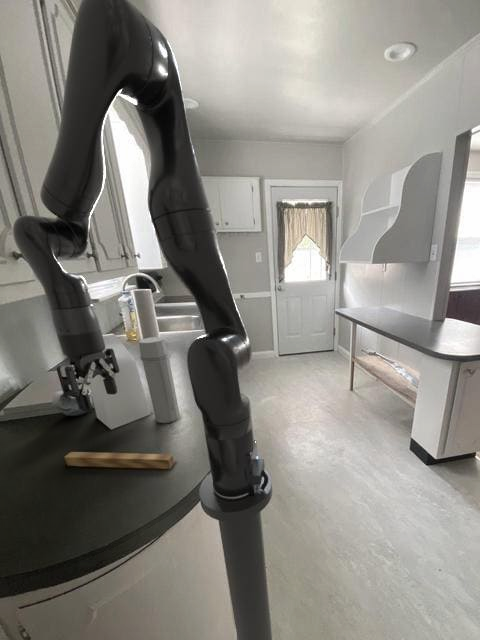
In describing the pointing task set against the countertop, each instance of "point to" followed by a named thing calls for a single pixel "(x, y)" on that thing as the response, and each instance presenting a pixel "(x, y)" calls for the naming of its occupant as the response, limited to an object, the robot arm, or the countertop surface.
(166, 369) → the water bottle
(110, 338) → the milk
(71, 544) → the countertop surface
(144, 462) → the stick
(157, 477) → the countertop surface
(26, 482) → the countertop surface
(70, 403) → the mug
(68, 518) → the countertop surface
